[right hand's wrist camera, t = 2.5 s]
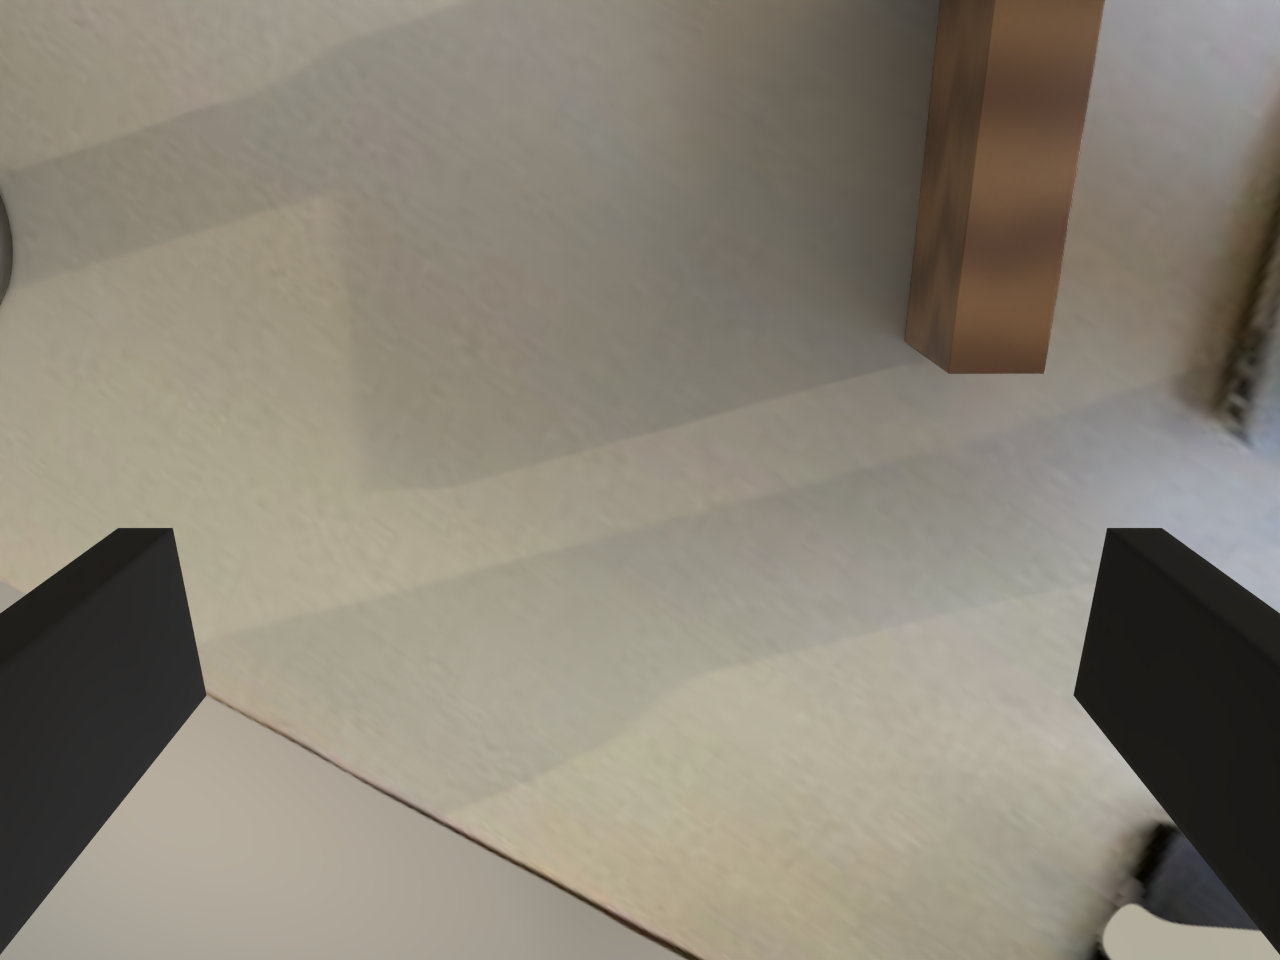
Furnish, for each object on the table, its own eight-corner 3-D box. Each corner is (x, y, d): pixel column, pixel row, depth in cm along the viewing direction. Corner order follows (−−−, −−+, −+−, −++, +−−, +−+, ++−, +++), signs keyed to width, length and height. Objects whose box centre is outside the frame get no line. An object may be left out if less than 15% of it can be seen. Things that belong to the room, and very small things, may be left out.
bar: (986, 341, 52) (1044, 373, 45) (904, 342, 52) (948, 373, 45) (1056, -160, 44) (1142, -224, 36) (957, -160, 44) (1022, -224, 36)
